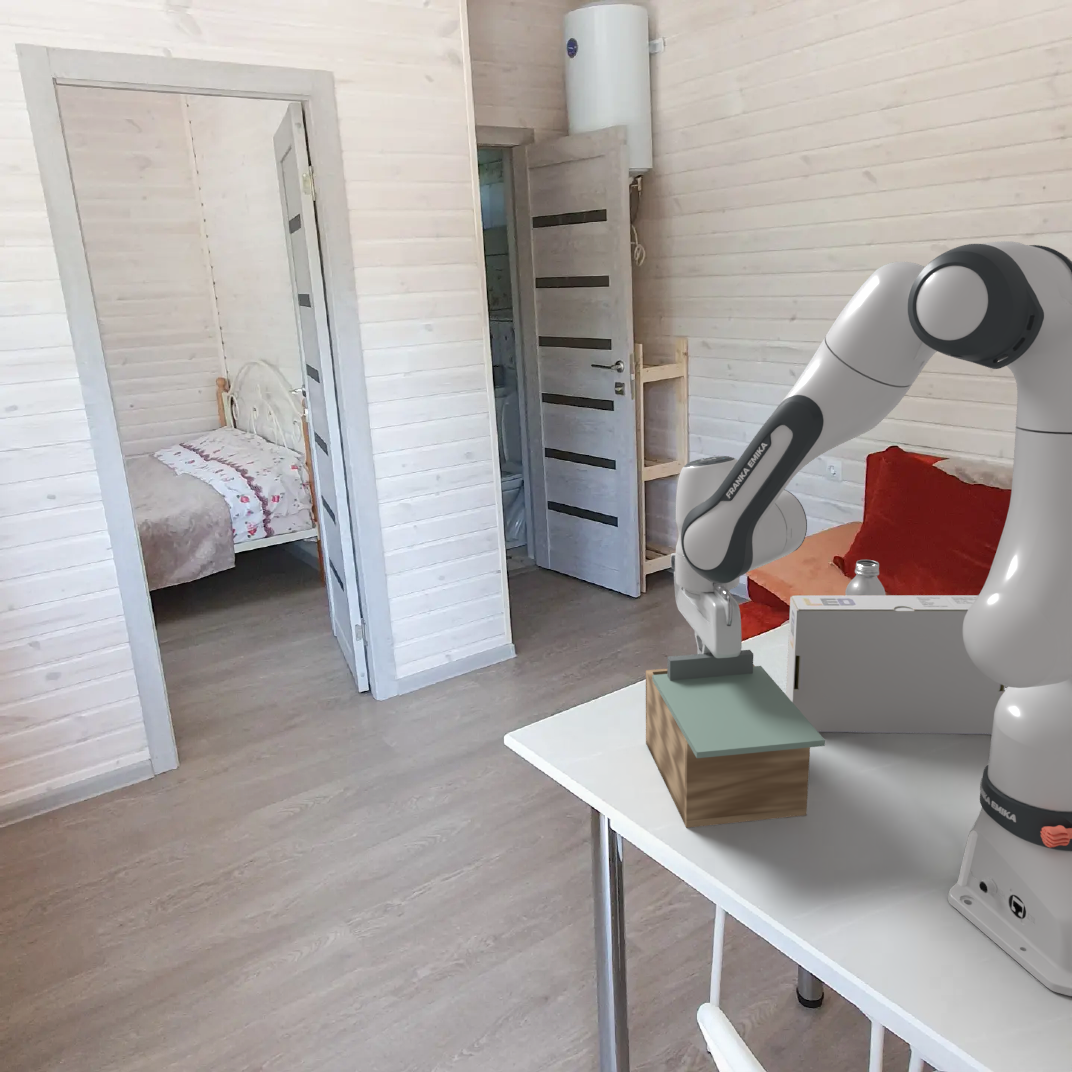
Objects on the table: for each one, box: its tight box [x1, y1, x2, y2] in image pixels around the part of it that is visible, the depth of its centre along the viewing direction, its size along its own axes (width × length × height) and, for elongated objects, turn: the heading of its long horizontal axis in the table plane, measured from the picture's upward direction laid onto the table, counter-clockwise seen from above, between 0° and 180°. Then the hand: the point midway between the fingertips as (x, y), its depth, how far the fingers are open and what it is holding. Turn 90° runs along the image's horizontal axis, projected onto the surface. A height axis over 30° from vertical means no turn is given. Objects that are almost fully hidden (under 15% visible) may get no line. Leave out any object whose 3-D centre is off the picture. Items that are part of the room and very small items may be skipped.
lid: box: [652, 649, 826, 758], centre depth 121 cm, size 22×16×4 cm
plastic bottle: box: [844, 559, 887, 595], centre depth 156 cm, size 6×7×20 cm
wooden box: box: [645, 663, 811, 829], centre depth 127 cm, size 22×16×12 cm
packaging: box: [785, 594, 1006, 735], centre depth 139 cm, size 30×6×20 cm, turn 84°
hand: (706, 661), depth 132 cm, fingers closed
